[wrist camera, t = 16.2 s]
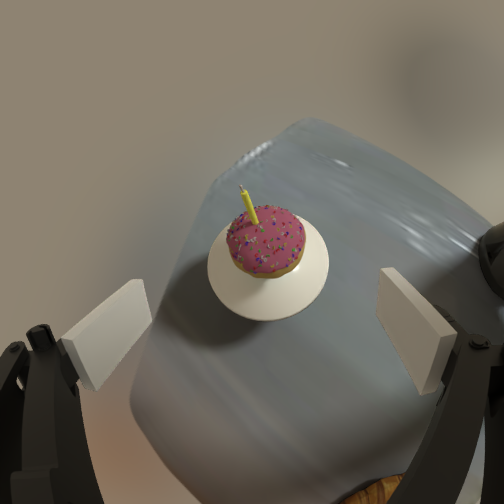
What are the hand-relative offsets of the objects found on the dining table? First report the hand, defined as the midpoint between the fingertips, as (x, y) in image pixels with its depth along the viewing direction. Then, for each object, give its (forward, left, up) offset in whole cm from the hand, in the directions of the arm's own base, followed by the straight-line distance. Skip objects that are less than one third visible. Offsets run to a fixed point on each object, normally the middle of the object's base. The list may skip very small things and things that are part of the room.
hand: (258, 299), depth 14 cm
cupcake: (-6, -9, -16) cm, 19 cm away
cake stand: (-6, -9, -24) cm, 26 cm away
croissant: (+1, +27, -25) cm, 37 cm away
